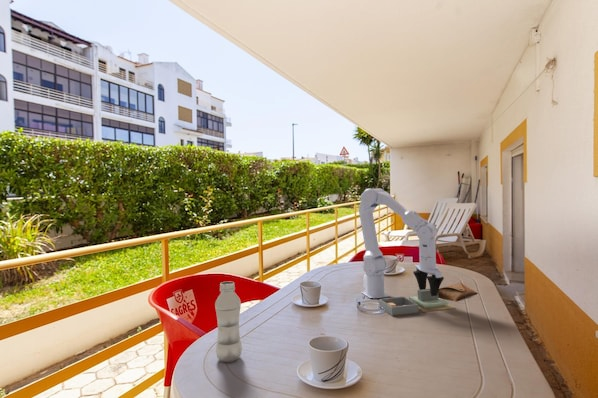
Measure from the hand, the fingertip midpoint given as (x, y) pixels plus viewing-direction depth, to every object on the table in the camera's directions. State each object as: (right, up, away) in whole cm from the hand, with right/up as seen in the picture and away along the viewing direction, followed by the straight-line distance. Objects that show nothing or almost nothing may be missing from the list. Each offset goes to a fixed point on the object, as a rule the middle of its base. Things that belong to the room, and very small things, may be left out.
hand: (428, 292), depth 131 cm
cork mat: (0, -5, 0) cm, 5 cm away
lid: (0, -4, 0) cm, 4 cm away
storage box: (-13, -5, -5) cm, 14 cm away
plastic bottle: (-66, -7, -39) cm, 78 cm away
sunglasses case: (+16, -5, +11) cm, 20 cm away
